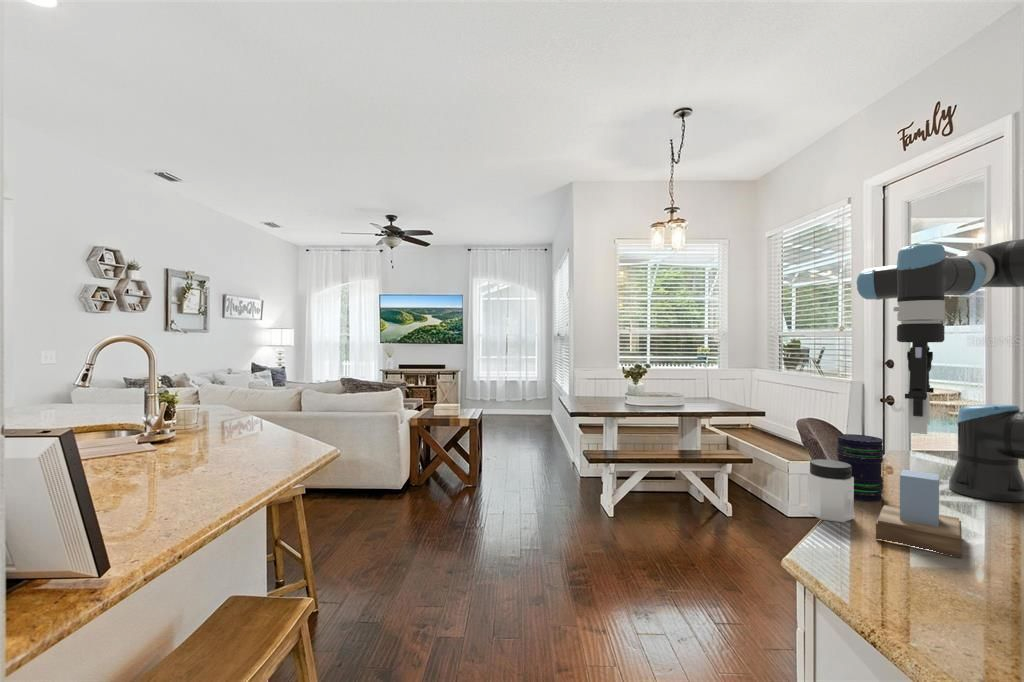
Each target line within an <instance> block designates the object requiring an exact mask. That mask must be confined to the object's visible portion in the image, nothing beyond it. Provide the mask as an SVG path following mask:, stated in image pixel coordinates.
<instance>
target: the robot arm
mask: <svg viewBox="0 0 1024 682" xmlns="http://www.w3.org/2000/svg"><path fill="white" fill-rule="evenodd" d="M896 261H897V262H896V264H892V265H883V266H875V267H870V268H865V269H864V270H862V271H861V272H859V273H858V276H857V279H856V290H857V292H858V294H859V295H860V296H861V297H862V298H863V299H865V300H876V301H877V300H878V301H879V300H887V299H888V300H889V299H897V300H896V302H897V303H896V306H895V307H893V309H892V310H893V312H897V314H896V317H897V319H896V321H897V322H900V323H899V324H897V326H896V341H897V342H899V343H912V345H911V347H910V349H909V351H907V353H906V354H907V355H906V358H907V362H908V363H907V367H908V371H909V386H908V387H909V389H908V393H904V399H908V405H909V406H908V433H909V434H918V435H919V434H920V435H921V434H922V435H927V434H928V425H930V421H931V419H930V417H931V416H930V414H931V413H930V410H931V409H930V406H931V405H930V404H931V403H930V400H931V397H930V395H931V394H934V389H935V388H934V387H931V384H930V372H931V370H932V361H933V359H934V358H933V357H934V352H933V351H930V346H929V345H928V343H943V342H944V341H945V326H946V325H944V323H941V322H942V321H945V319H946V318H945V317H946V300H945V296H949V295H951V296H952V295H953V296H964V295H965V296H966V295H971V294H973V293H975V292H976V291H978V290H979V289H980V288H1020V287H1021V288H1022V287H1023V288H1024V238H1021V239H1013V240H1007V241H1002V242H998V243H994V244H991V245H986V246H983V247H979V248H976V249H975V248H974V249H970V250H969V249H968V250H965V251H963V252H959V253H958V254H957V255H955V256H948V257H947V254H946V251H945V247H944V246H943V245H942V244H939V243H926V244H925V243H923V244H915V245H908V246H905V247H902V248H900V249H899V250H898V253H897V260H896ZM957 415H958V416H957V421H956V424H957V461H956V463H955V466H954V468H953V470H952V471H951V472H952V473H951V474H950V476H949V480H948V489H949V490H951V491H953V492H955V493H957V494H961V495H962V496H963V495H964V496H968V497H972V498H976V499H980V500H981V499H982V500H987V501H994V502H995V501H996V502H1002V503H1003V502H1005V503H1022V502H1024V478H1023V475H1022V473H1021V471H1020V467H1019V459H1020V460H1024V411H1021V409H1020V406H1019V405H1017V404H977V405H975V404H974V405H965V406H962V407H960V409H959V410H958V414H957Z"/></svg>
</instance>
